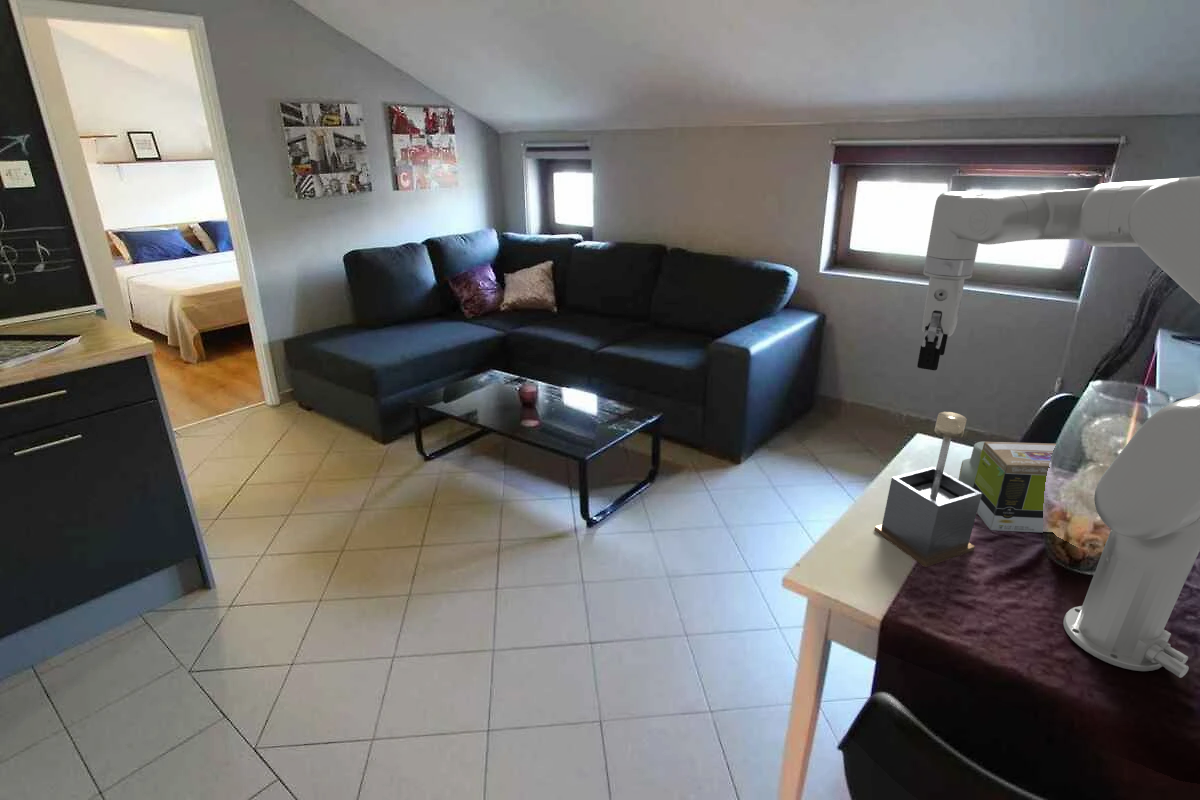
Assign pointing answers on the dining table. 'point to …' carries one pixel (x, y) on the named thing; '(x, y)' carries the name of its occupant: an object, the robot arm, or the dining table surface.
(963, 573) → the dining table surface
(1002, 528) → the tea box
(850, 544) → the dining table surface
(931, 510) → the press housing
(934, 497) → the plunger
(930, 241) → the robot arm
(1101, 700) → the dining table surface
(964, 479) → the air freshener
